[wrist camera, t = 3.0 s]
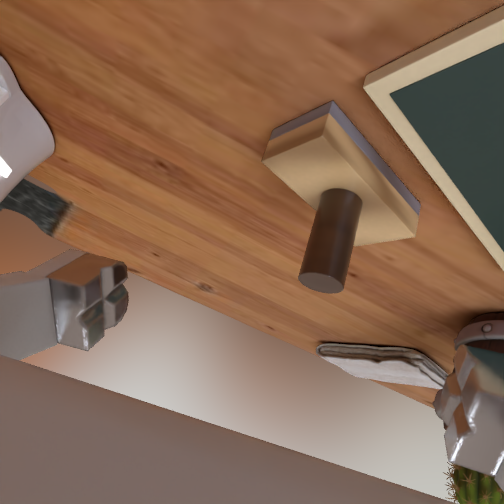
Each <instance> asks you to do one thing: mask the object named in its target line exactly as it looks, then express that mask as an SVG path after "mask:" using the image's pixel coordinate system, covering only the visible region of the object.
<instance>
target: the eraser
mask: <svg viewBox="0 0 504 504" xmlns="http://www.w3.org/2000/svg"><path fill="white" fill-rule="evenodd" d="M262 163H264V164H265V165H266V166H267V167H268V168H269V169H270V170H271V171H272V172H273V173H275V174H276V175H277V176H278V177H279V178H280V179H281V180H282V181H283V182H285V183H286V184H287V185H288V186H289V187H290V188H291V189H292V190H293V191H294V192H296V193H297V194H298V195H299V196H300V197H301V198H302V199H303V200H304V201H306V202H307V203H308V204H309V205H310V206H311V207H312V208H313V209H314V210H316V211H317V212H316V216H315V219H314V223H313V226H312V230H311V233H310V237H309V241H308V244H307V248H306V251H305V255H304V258H303V262H302V265H301V269H300V273H299V276H298V279H299V281H300V282H301V283H302V284H303V285H304V286H306V287H308V288H310V289H312V290H315V291H318V292H323V293H339V292H341V291H342V290H343V289H344V285H345V280H346V276H347V271H348V267H349V263H350V258H351V254H352V249H353V245H354V246H361V245H367V244H373V243H380V242H386V241H392V240H399V239H405V238H412V237H416V231H417V225H418V218H419V212H420V203H419V202H418V201H417V200H416V199H415V197H414V196H413V195H412V194H411V193H410V191H409V190H408V189H407V188H406V187H405V185H404V184H403V183H402V182H401V181H400V180H399V178H398V177H397V176H396V175H395V174H394V172H393V171H392V170H391V169H390V168H389V166H388V165H387V164H386V163H385V162H384V161H383V159H382V158H381V157H380V156H379V155H378V153H377V152H376V151H375V150H374V149H373V147H372V146H371V145H370V144H369V143H368V142H367V140H366V139H365V138H364V137H363V136H362V134H361V133H360V132H359V131H358V130H357V128H356V127H355V126H354V125H353V124H352V123H351V121H350V120H349V119H348V118H347V117H346V115H345V114H344V113H343V112H342V111H341V110H340V108H339V107H338V106H337V105H336V104H335V102H334V101H331V102H329V103H327V104H325V105H323V106H321V107H319V108H317V109H314V110H312V111H310V112H308V113H306V114H304V115H302V116H300V117H298V118H296V119H294V120H292V121H290V122H288V123H286V124H284V125H282V126H280V127H278V128H276V129H274V130H273V131H272V134H271V137H270V139H269V142H268V145H267V147H266V150H265V153H264V156H263V158H262Z"/></svg>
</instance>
